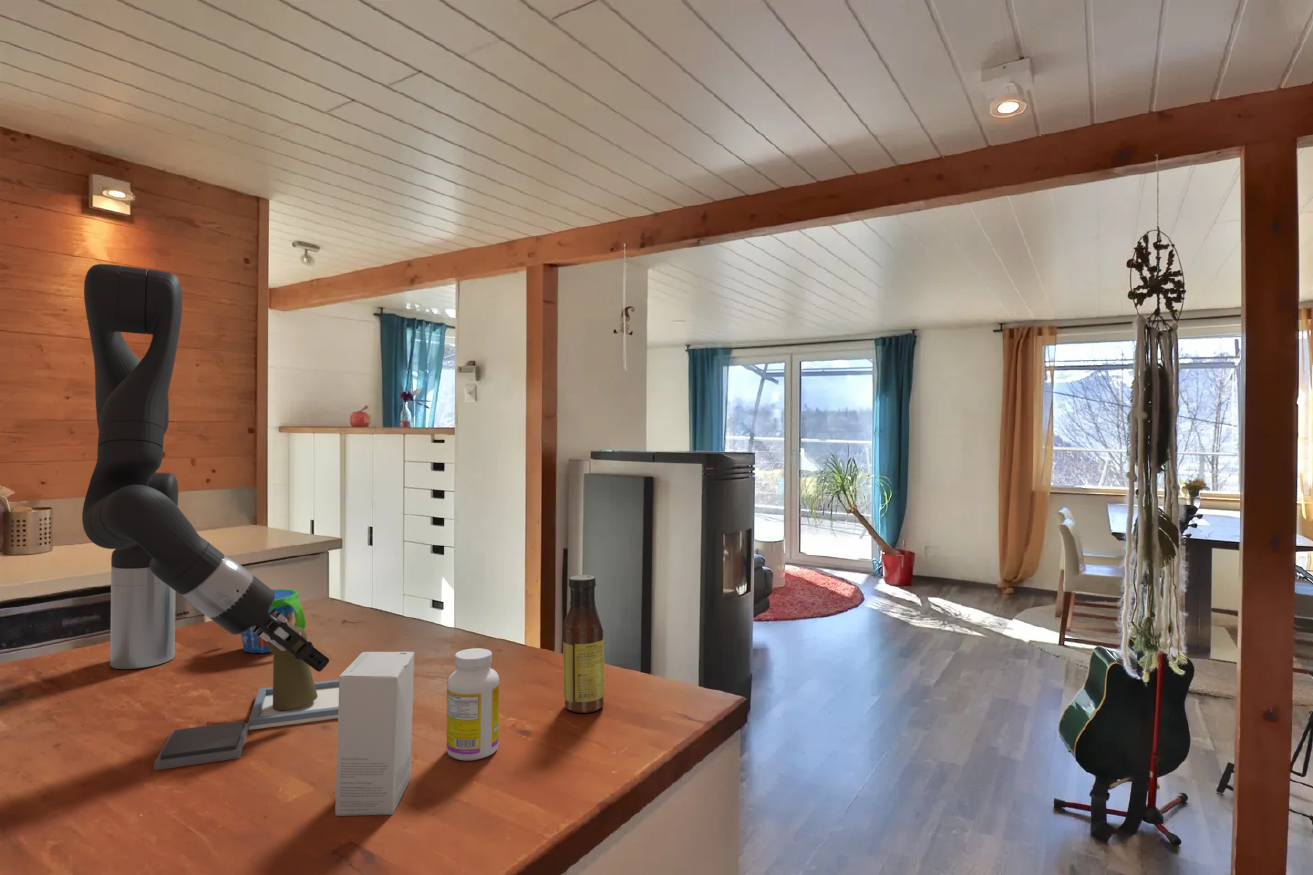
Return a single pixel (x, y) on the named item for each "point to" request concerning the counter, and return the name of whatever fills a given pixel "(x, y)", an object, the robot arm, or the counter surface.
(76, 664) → the counter surface
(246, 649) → the snack cup
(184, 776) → the counter surface
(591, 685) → the sauce bottle
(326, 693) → the blank framed board
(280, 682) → the olive tapered round piece
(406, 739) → the skincare box
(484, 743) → the supplement bottle
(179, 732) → the ink pad
